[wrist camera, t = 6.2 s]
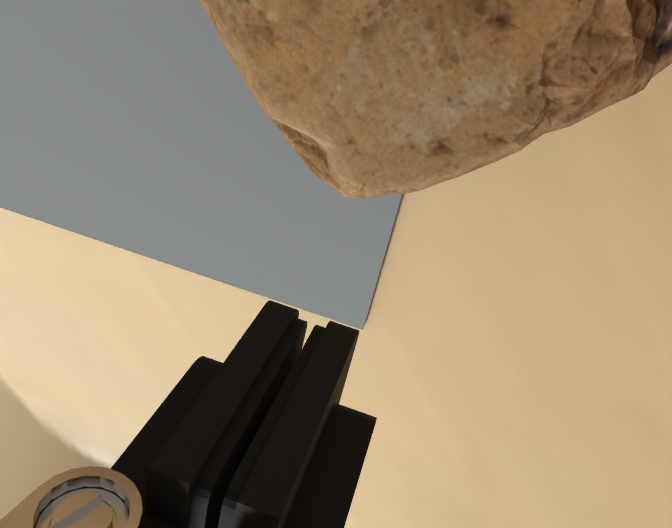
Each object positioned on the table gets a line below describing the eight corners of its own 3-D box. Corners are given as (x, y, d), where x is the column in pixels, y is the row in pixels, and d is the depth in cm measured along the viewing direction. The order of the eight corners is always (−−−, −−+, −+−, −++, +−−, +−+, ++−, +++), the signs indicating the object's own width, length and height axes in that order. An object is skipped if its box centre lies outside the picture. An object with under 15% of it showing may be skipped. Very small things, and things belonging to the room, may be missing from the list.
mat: (561, -353, 15) (562, -360, 15) (365, 324, 26) (362, 329, 26) (-74, -465, 18) (-86, -473, 17) (-11, 198, 29) (-17, 201, 29)
